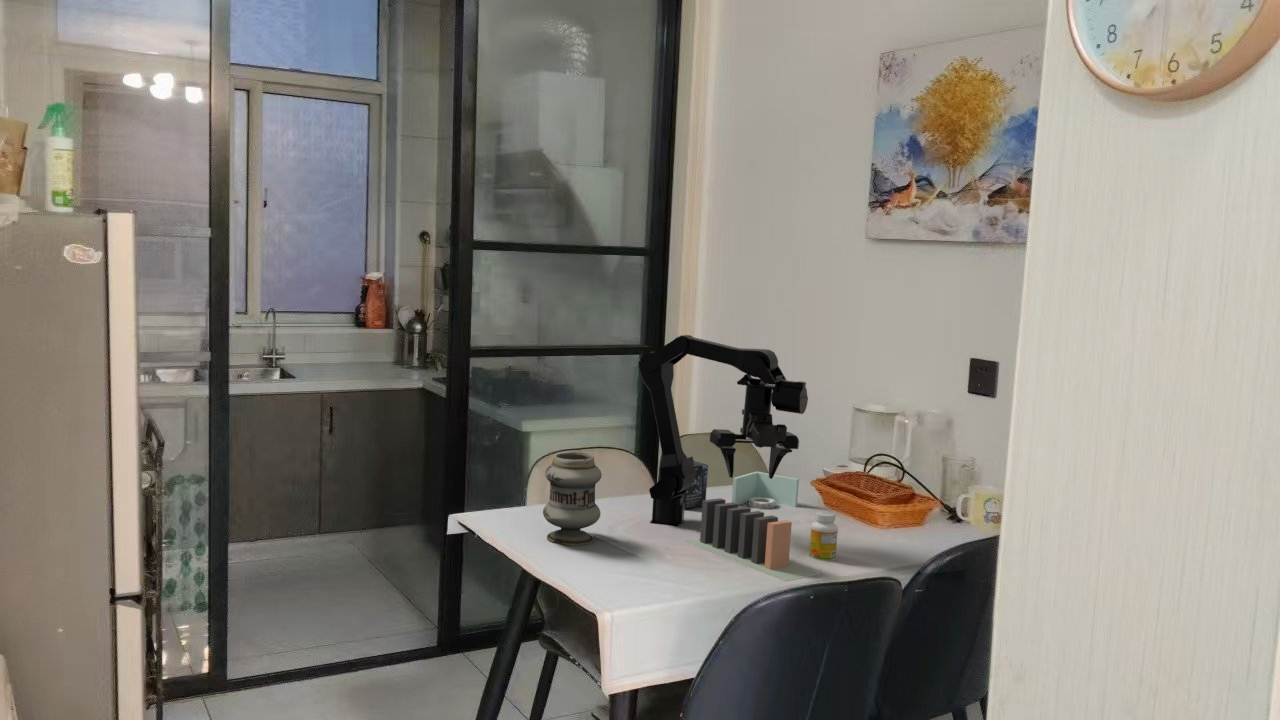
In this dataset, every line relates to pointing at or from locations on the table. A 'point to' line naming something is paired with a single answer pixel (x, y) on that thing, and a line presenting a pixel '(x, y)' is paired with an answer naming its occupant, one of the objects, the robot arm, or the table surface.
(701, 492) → the box
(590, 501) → the apothecary jar
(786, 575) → the rack
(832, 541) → the supplement bottle
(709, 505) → the domino
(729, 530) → the domino
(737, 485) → the right angle wall
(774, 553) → the domino
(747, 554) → the domino
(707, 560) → the table surface
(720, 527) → the domino
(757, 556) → the domino
